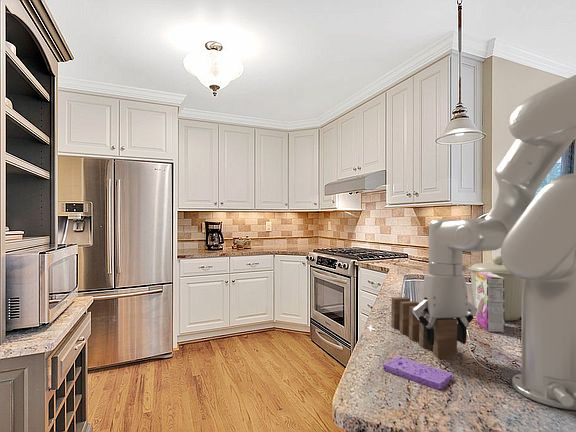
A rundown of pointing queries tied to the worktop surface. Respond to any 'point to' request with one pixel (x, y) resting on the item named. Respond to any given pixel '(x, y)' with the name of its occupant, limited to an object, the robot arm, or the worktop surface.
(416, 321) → the tile
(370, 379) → the worktop surface
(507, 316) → the canister
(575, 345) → the robot arm
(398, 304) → the tile
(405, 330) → the tile
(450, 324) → the tile
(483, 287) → the candy bar box
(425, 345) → the tile
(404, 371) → the sponges
